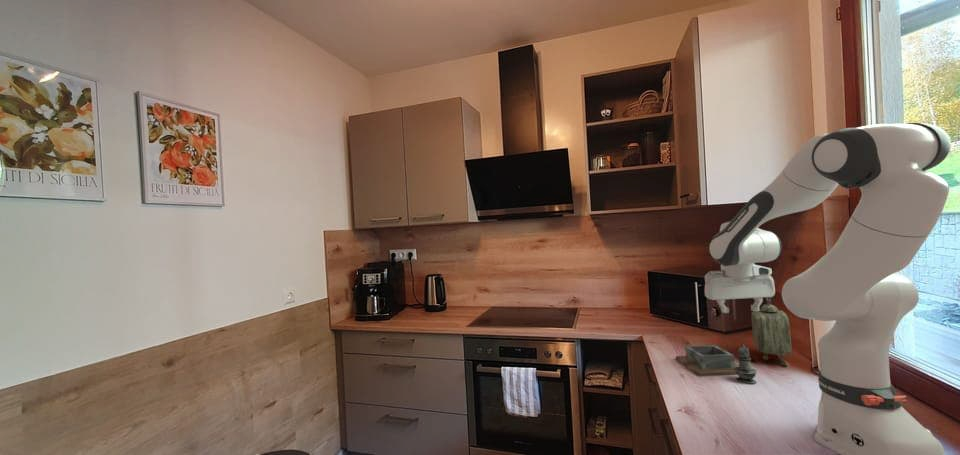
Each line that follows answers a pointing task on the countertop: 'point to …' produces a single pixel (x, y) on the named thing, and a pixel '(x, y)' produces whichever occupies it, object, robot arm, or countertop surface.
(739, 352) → the grey chess piece
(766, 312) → the green tall textured piece
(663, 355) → the countertop surface
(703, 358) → the socket caddy
